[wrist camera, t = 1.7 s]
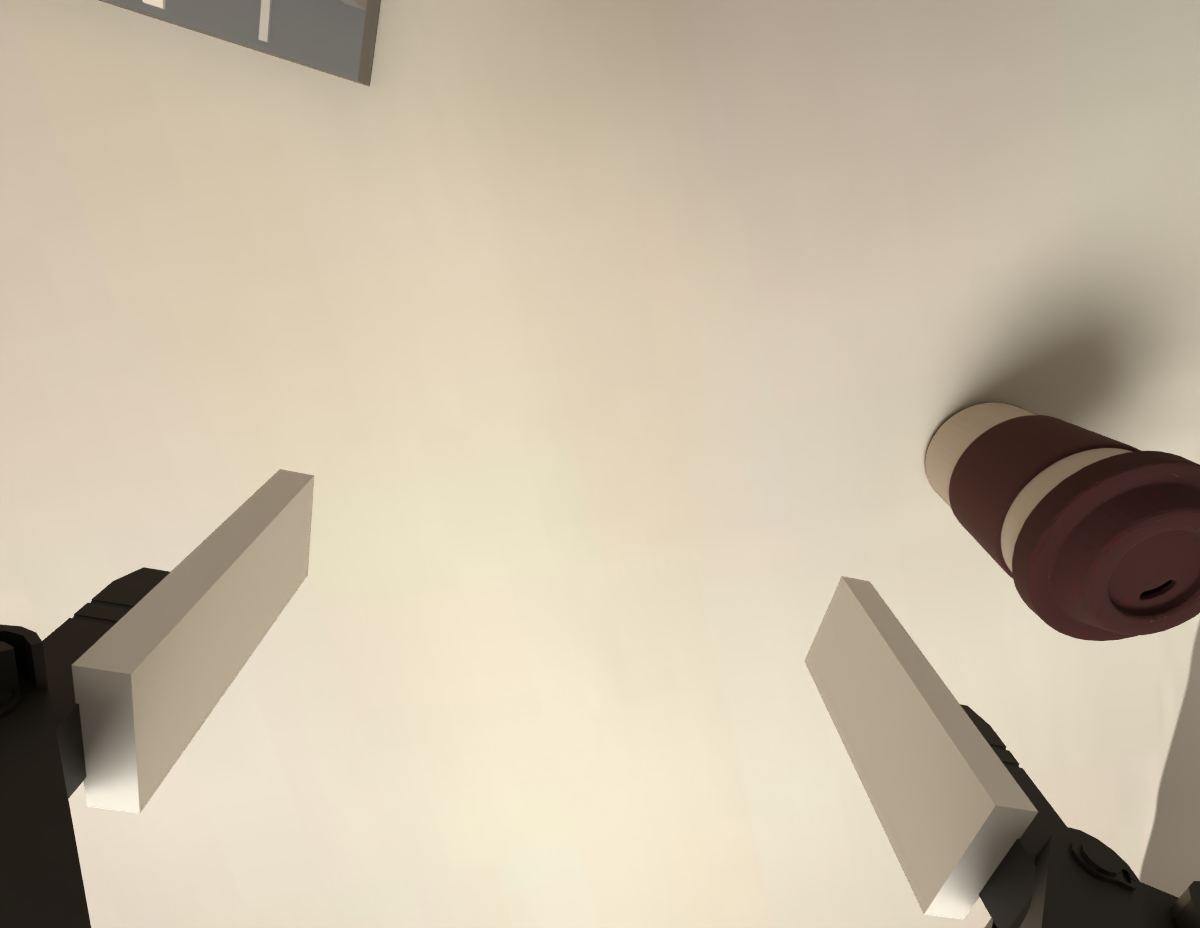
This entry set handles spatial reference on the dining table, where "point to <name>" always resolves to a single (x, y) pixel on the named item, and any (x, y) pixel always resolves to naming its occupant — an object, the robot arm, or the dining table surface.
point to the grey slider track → (282, 28)
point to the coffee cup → (1075, 519)
